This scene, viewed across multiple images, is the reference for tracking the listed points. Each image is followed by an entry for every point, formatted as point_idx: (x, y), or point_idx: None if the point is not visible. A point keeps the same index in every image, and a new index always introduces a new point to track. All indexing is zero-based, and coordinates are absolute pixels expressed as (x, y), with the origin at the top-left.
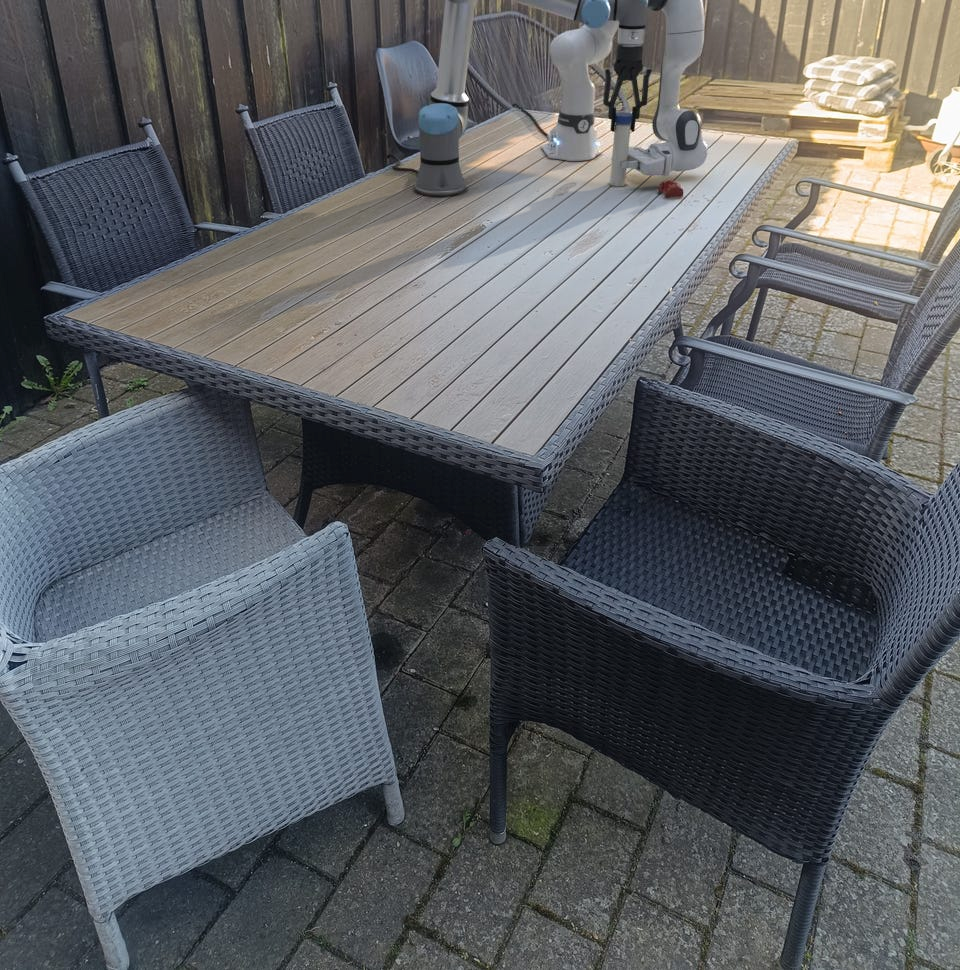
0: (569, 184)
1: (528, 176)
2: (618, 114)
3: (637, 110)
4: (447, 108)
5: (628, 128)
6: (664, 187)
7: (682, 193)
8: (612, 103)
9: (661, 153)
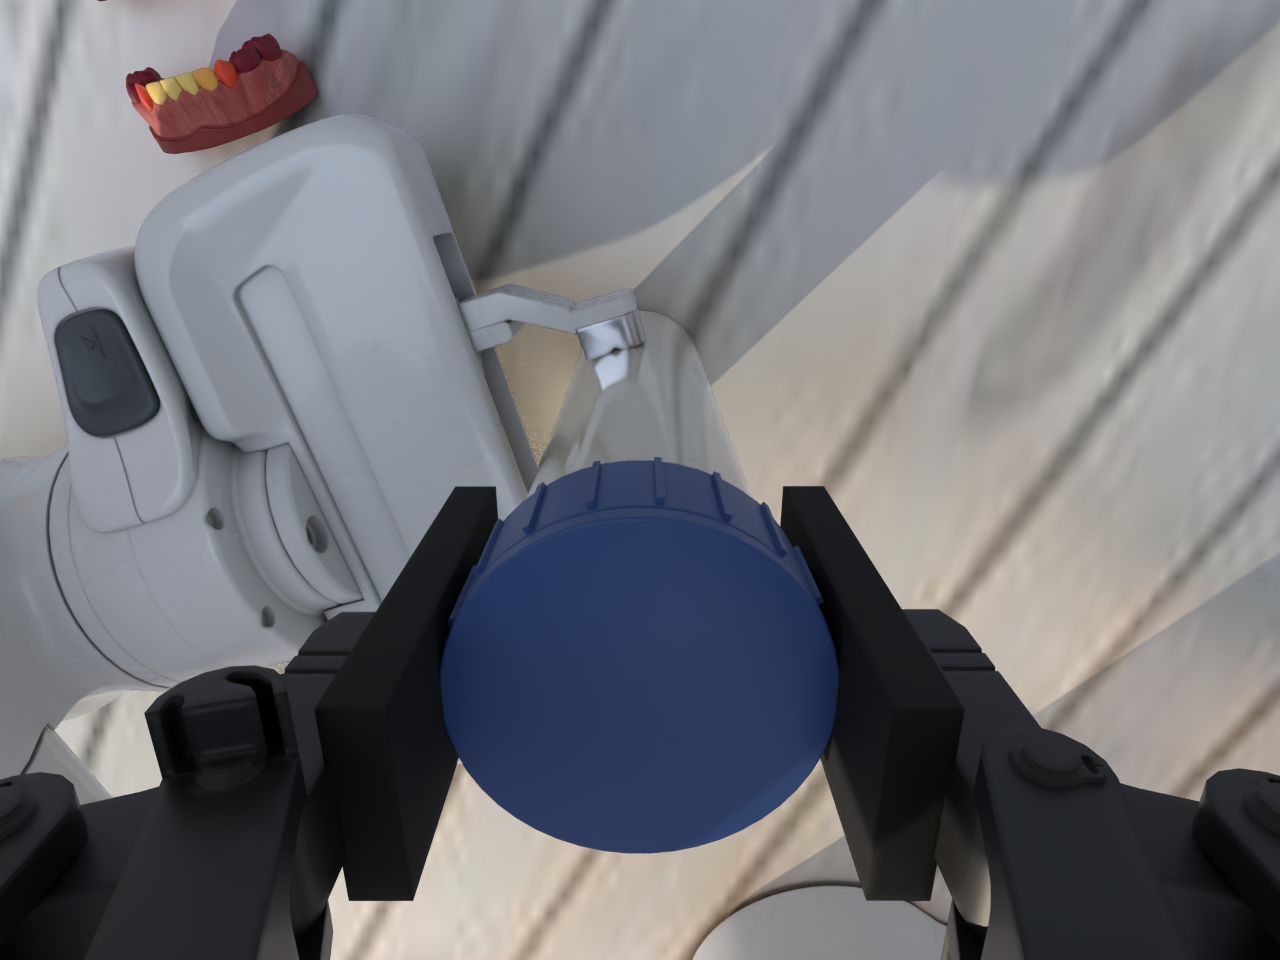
0: (1024, 379)
1: (1270, 586)
2: (760, 698)
3: (310, 719)
4: None
5: (555, 476)
6: (244, 46)
7: None
8: (1081, 820)
9: (166, 374)
